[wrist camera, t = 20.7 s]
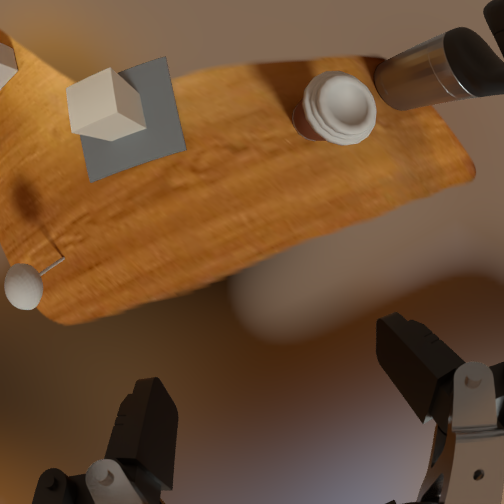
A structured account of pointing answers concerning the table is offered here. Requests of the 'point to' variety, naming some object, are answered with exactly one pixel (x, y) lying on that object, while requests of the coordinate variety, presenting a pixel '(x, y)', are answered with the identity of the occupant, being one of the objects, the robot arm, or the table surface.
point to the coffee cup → (335, 109)
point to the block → (104, 107)
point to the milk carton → (7, 64)
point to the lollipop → (25, 285)
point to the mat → (145, 141)
